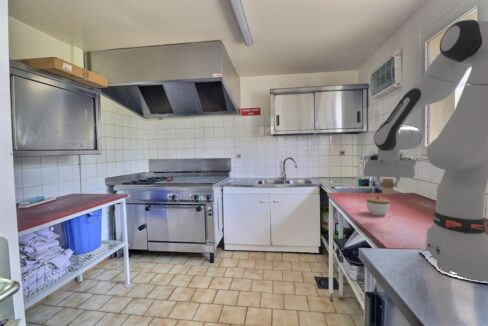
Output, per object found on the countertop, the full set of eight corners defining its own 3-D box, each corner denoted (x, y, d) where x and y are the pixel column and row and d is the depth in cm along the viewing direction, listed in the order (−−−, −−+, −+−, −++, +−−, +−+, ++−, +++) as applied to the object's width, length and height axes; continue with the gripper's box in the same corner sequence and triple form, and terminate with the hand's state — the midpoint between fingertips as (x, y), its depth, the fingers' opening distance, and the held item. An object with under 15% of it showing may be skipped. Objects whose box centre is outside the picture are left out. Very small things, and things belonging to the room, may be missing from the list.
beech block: (392, 194, 107) (393, 180, 106) (382, 193, 109) (382, 180, 108) (392, 190, 117) (392, 177, 117) (382, 189, 119) (383, 177, 119)
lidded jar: (392, 217, 121) (393, 199, 120) (369, 216, 123) (370, 198, 122) (385, 212, 131) (385, 194, 130) (363, 210, 133) (364, 194, 133)
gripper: (414, 156, 110) (413, 187, 111) (364, 156, 119) (363, 184, 120) (417, 157, 104) (416, 189, 105) (363, 156, 113) (363, 186, 114)
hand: (387, 186), depth 113 cm, fingers closed on beech block, 4 cm apart
